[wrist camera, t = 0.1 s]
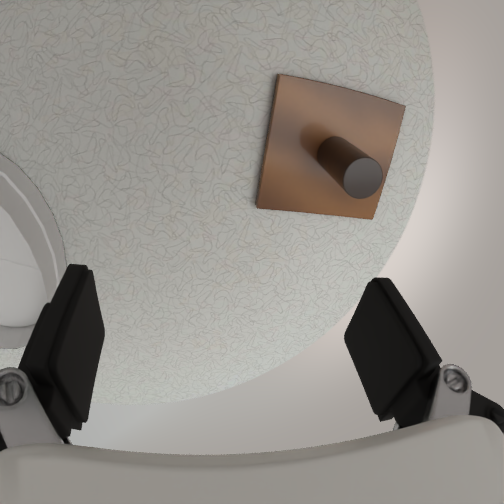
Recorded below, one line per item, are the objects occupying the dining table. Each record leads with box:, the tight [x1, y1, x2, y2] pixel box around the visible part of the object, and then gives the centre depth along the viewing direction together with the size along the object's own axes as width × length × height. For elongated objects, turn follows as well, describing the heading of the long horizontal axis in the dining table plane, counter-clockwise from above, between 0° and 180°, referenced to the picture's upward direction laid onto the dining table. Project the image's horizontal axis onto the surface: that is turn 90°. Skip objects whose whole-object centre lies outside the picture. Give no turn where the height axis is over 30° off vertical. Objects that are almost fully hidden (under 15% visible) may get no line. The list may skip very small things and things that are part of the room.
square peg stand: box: [256, 74, 406, 220], centre depth 22 cm, size 11×11×6 cm
